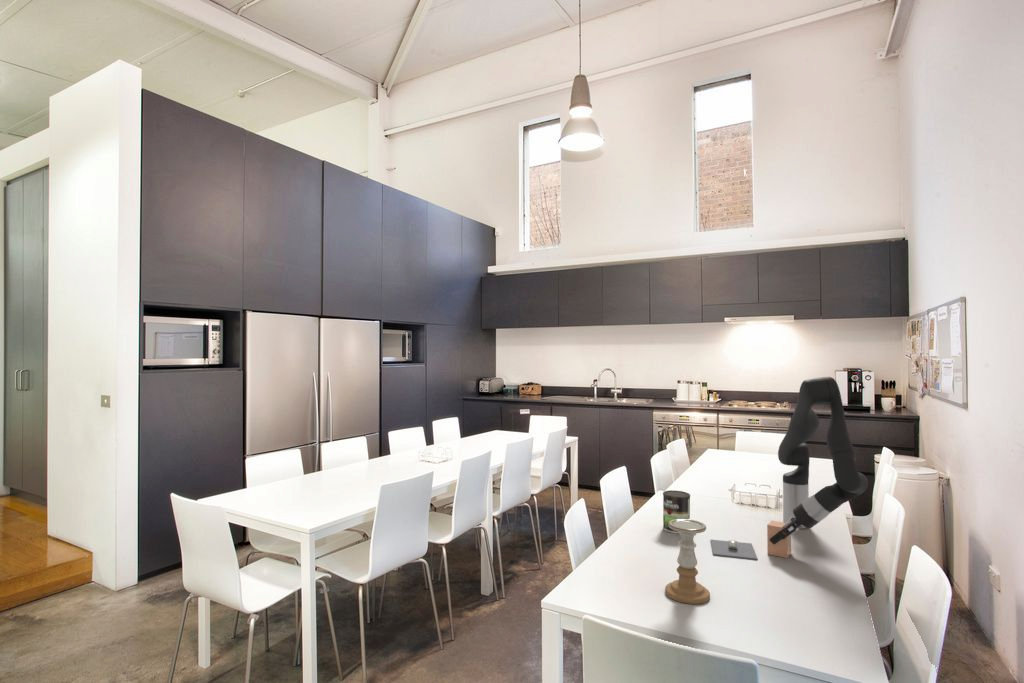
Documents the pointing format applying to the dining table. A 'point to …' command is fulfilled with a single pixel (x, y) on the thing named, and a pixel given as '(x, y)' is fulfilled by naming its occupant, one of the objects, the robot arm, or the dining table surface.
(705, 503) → the dining table surface
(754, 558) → the charcoal mat
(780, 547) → the tall peach brick
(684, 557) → the candle holder
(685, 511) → the coffee can
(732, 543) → the metal tin
